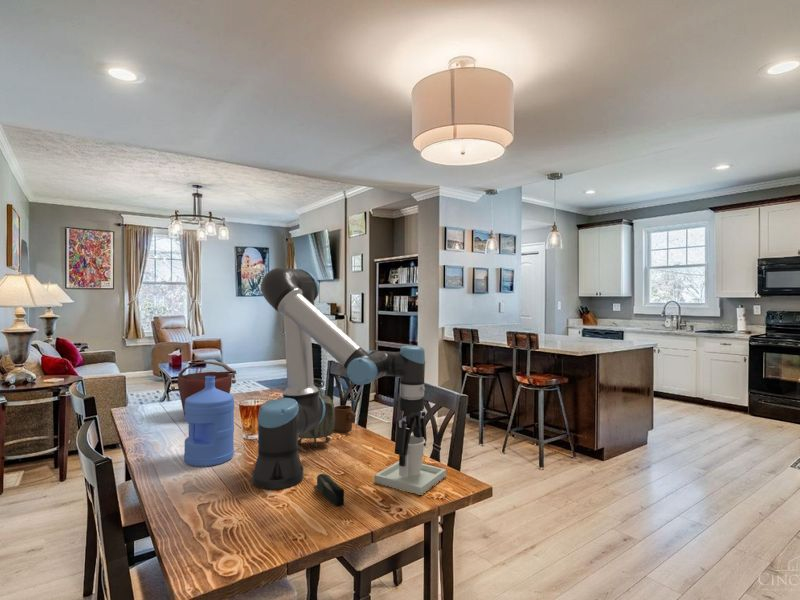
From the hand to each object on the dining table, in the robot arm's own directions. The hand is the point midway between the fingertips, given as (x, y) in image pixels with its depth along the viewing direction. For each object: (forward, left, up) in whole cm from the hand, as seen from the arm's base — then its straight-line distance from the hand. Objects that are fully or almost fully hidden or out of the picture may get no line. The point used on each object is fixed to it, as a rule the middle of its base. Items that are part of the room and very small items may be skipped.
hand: (410, 471), depth 137 cm
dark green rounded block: (-22, +14, -3) cm, 26 cm away
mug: (+27, +47, -3) cm, 55 cm away
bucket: (+8, +113, -3) cm, 113 cm away
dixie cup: (0, 0, 0) cm, 0 cm away
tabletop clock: (+7, +46, -3) cm, 47 cm away
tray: (0, 0, -3) cm, 3 cm away
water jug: (-23, +66, -3) cm, 70 cm away
